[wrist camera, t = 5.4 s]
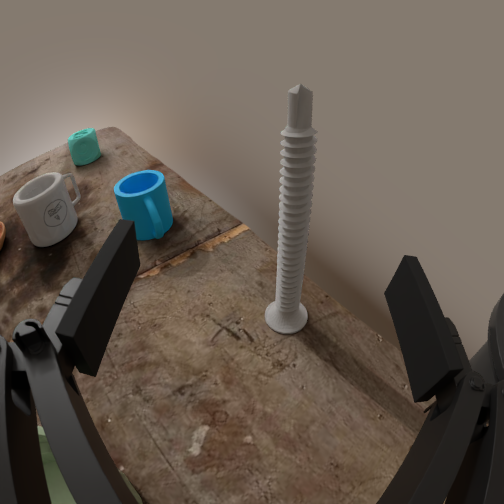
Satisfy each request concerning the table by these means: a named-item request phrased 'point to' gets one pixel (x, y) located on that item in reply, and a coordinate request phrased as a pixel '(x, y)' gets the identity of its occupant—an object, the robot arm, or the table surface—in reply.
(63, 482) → the bowl
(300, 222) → the screw
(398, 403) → the table surface
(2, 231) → the saucer
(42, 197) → the mug
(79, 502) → the robot arm
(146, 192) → the mug
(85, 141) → the decorative dice
